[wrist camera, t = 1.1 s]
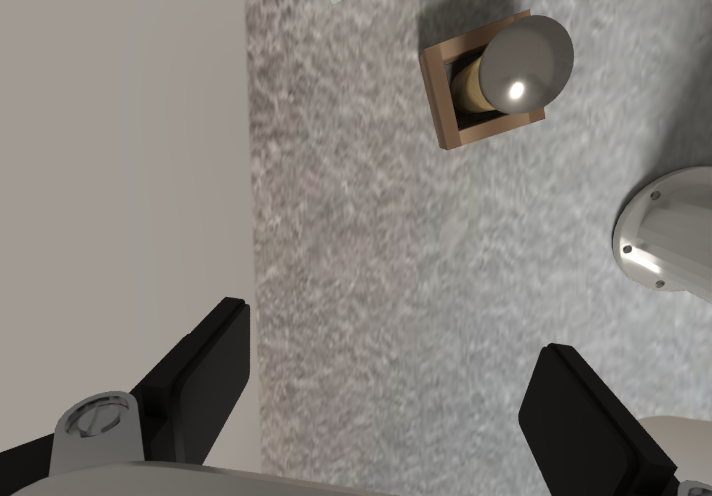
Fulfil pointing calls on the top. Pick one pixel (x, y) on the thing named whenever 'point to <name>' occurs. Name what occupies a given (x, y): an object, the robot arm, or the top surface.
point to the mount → (440, 92)
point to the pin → (517, 69)
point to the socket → (334, 1)
